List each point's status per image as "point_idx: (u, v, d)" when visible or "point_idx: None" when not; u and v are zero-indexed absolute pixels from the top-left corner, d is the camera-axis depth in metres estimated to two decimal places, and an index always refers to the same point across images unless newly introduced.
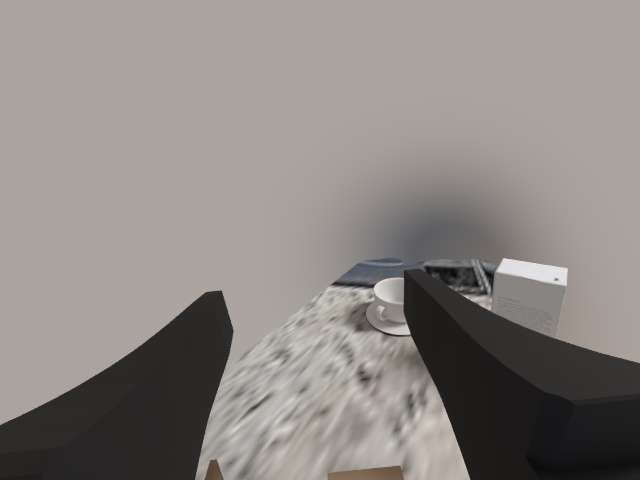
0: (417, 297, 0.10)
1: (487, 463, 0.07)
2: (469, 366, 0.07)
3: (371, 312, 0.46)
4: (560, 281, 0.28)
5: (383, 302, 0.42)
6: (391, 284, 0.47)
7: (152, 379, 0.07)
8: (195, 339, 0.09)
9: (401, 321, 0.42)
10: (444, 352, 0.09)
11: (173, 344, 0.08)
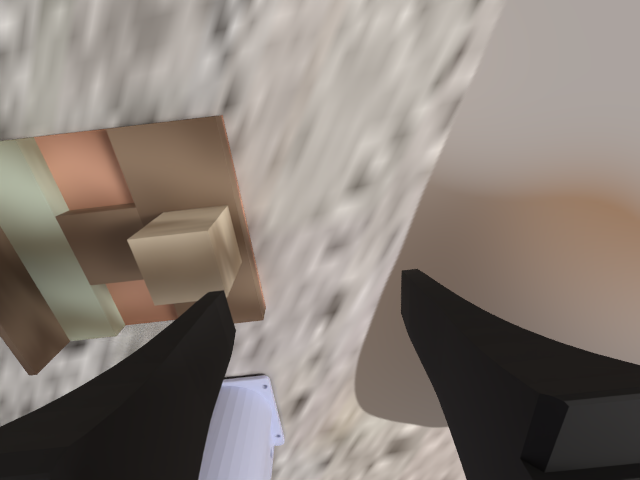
0: (414, 297, 0.10)
1: (483, 464, 0.07)
2: (465, 366, 0.07)
3: None
4: None
5: None
6: None
7: (156, 379, 0.07)
8: (198, 339, 0.09)
9: None
10: (441, 352, 0.09)
11: (177, 344, 0.08)
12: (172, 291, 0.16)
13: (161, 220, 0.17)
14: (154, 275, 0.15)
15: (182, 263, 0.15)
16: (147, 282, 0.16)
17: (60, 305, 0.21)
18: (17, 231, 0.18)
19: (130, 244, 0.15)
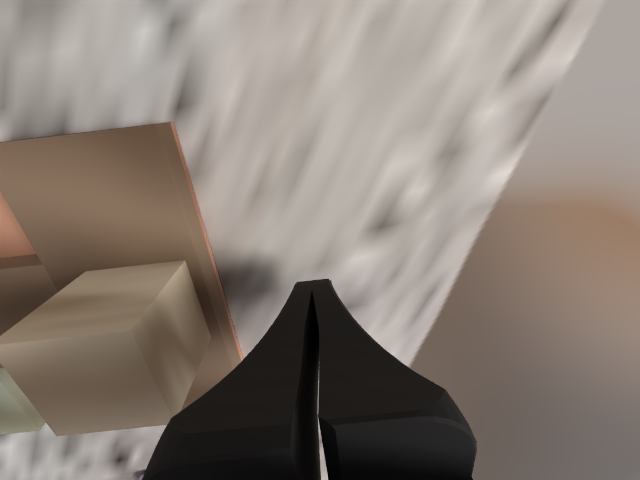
0: (314, 308, 0.10)
1: None
2: None
3: None
4: None
5: None
6: None
7: (302, 363, 0.07)
8: (309, 327, 0.09)
9: None
10: None
11: (302, 330, 0.08)
12: (82, 417, 0.10)
13: (71, 292, 0.10)
14: (47, 396, 0.09)
15: (93, 379, 0.09)
16: (37, 405, 0.09)
17: None
18: None
19: None
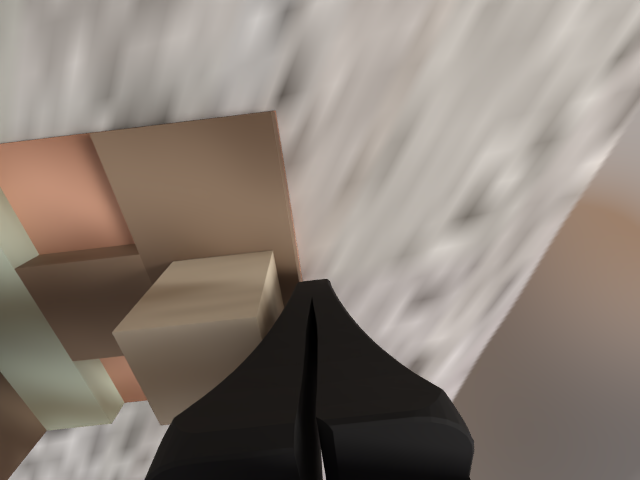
0: (313, 308, 0.10)
1: None
2: None
3: None
4: None
5: None
6: None
7: (304, 363, 0.07)
8: (310, 327, 0.09)
9: None
10: None
11: (304, 330, 0.08)
12: None
13: (170, 281, 0.10)
14: (160, 384, 0.09)
15: (209, 367, 0.09)
16: (148, 394, 0.09)
17: (30, 387, 0.14)
18: None
19: (118, 339, 0.08)
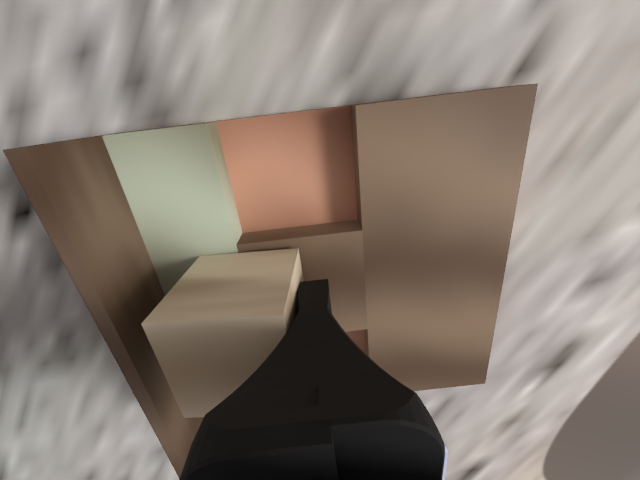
0: None
1: None
2: None
3: None
4: None
5: None
6: None
7: None
8: None
9: None
10: None
11: (324, 328, 0.08)
12: (213, 400, 0.09)
13: (197, 275, 0.10)
14: (185, 377, 0.09)
15: (234, 363, 0.09)
16: (173, 386, 0.09)
17: None
18: (174, 267, 0.12)
19: (146, 331, 0.08)
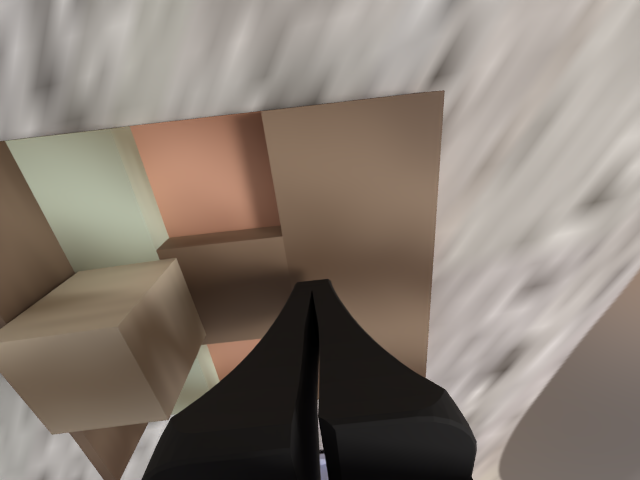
0: (314, 308, 0.10)
1: None
2: None
3: None
4: None
5: None
6: None
7: (302, 363, 0.07)
8: (309, 327, 0.09)
9: None
10: None
11: (302, 330, 0.08)
12: (76, 415, 0.10)
13: (63, 292, 0.10)
14: (40, 394, 0.09)
15: (85, 376, 0.09)
16: (31, 404, 0.09)
17: None
18: None
19: None
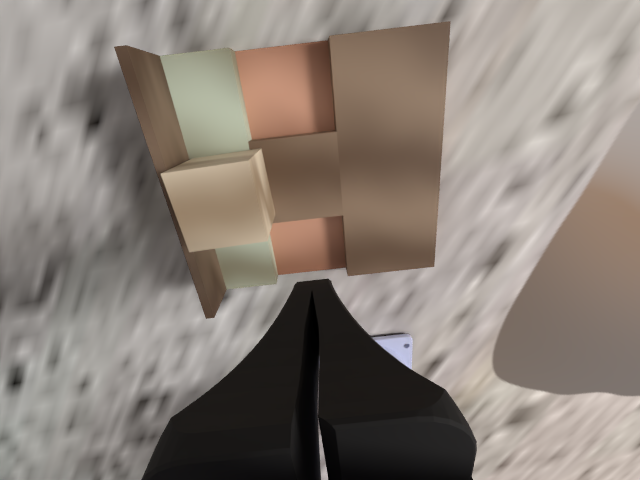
0: (314, 308, 0.10)
1: None
2: None
3: None
4: None
5: None
6: None
7: (302, 363, 0.07)
8: (309, 327, 0.09)
9: None
10: None
11: (302, 330, 0.08)
12: (208, 235, 0.15)
13: (192, 161, 0.15)
14: (189, 216, 0.14)
15: (220, 201, 0.14)
16: (181, 224, 0.14)
17: (227, 247, 0.19)
18: None
19: (164, 179, 0.13)
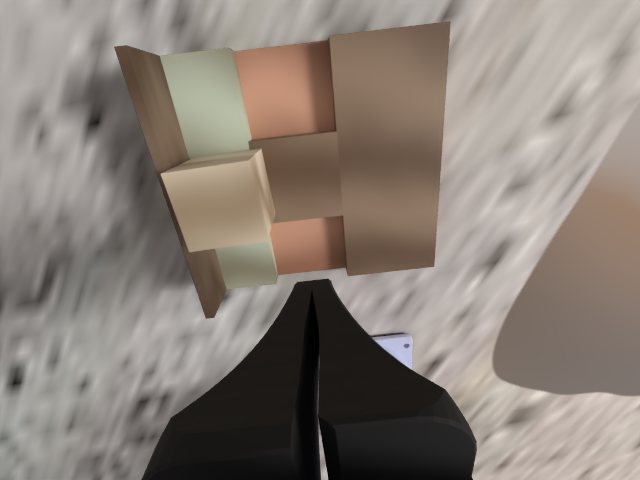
0: (314, 308, 0.10)
1: None
2: None
3: None
4: None
5: None
6: None
7: (302, 363, 0.07)
8: (309, 327, 0.09)
9: None
10: None
11: (302, 330, 0.08)
12: (208, 235, 0.15)
13: (192, 161, 0.15)
14: (189, 216, 0.14)
15: (220, 201, 0.14)
16: (181, 224, 0.14)
17: (227, 247, 0.19)
18: None
19: (164, 179, 0.13)
